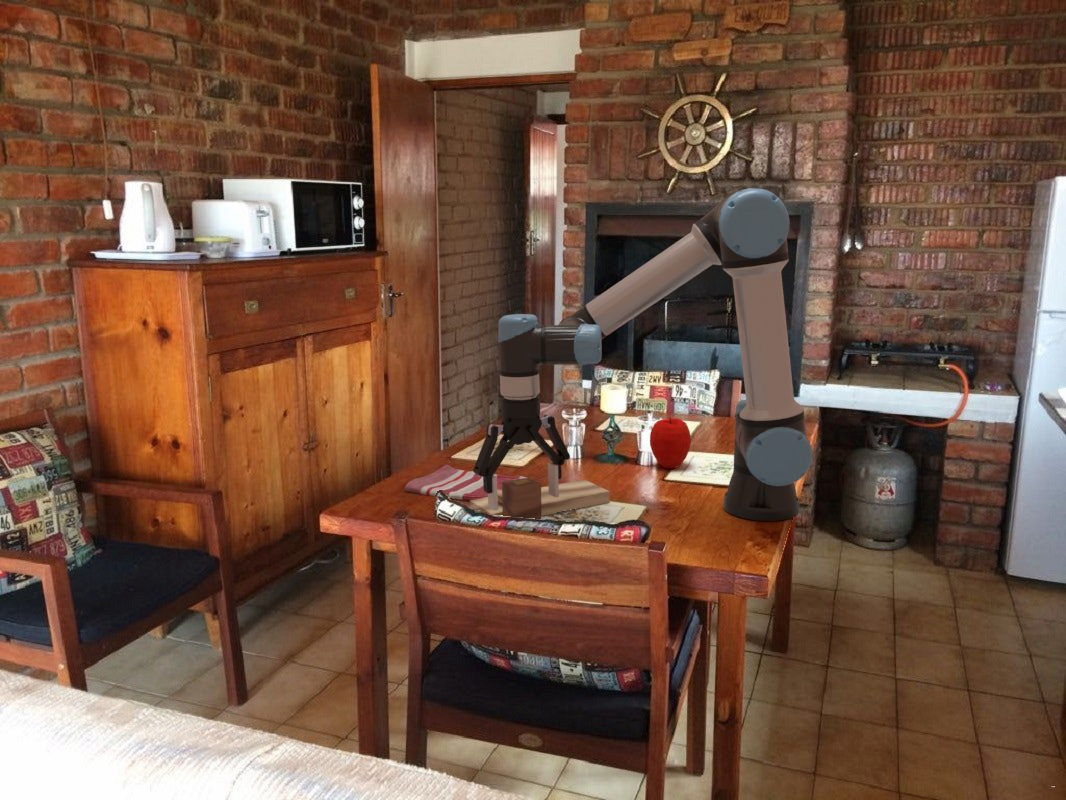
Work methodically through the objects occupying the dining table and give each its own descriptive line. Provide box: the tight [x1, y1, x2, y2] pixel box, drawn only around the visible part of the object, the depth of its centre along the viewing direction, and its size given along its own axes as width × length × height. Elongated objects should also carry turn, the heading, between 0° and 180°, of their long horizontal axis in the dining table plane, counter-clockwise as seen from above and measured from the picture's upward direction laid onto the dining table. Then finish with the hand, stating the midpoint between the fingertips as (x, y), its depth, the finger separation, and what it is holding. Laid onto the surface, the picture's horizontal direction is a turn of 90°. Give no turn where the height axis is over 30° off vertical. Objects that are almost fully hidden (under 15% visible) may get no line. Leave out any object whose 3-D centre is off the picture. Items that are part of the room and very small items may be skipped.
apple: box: [649, 417, 692, 469], centre depth 217 cm, size 10×10×12 cm
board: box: [469, 479, 611, 517], centre depth 189 cm, size 10×28×2 cm, turn 120°
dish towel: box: [404, 464, 528, 503], centre depth 202 cm, size 17×23×3 cm
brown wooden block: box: [497, 477, 543, 520], centre depth 181 cm, size 14×6×9 cm, turn 30°
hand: (524, 502), depth 177 cm, fingers open, 13 cm apart
